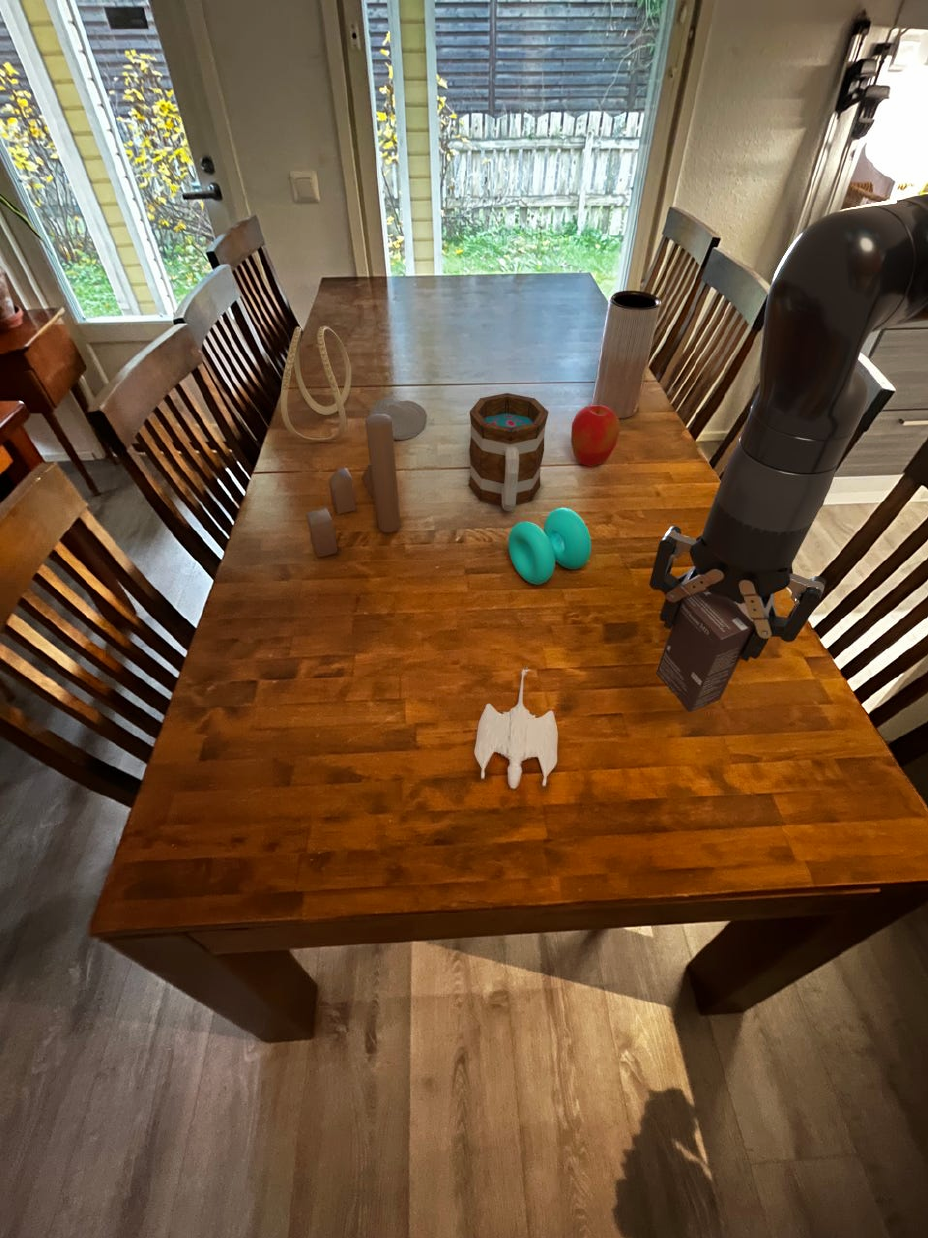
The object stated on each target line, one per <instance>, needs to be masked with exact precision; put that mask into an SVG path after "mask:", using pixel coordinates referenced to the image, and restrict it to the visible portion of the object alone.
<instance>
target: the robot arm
mask: <svg viewBox="0 0 928 1238" xmlns="http://www.w3.org/2000/svg"><path fill="white" fill-rule="evenodd" d="M763 318H764V319H763V329H762V339H761V348H760V349H761V350H760V357H759V358H760V359H759V381H758V382H759V383H758V388H757V391H756V393H755V396H754V398H753V401H752V404H751V407H750V409H749V412H748V415H747V418H746V419H745V423H744V426H743V429H742V431H741V435H740V436H739V439H738V441H737V443H736V446H735V447H734V449H733V452H732V453H731V455H730V457H729V459H728V461H727V463H726V465H725V468H724V471H723V474H722V477H721V479H720V483H719V486H718V488H717V491H716V494H715V497H714V499H713V501H712V505H711V508H710V510H709V513H708V516H707V519H706V522H705V525H704V527H703V529H702V533H701V534H700V535H699V536H697V538H694V537H691V536H687V535H684V534H682V529H681V528H680V527H679V526H678V525H671V526H670V527H668V529H667V530H666V533H664V535H663V536H662V538H661V539H660V542H659V543H658V548H657V552H656V554H655V555H656V556H655V559H654V563H653V567H652V572H651V574H650V580H649V587H650V588H651V589H652V590H653V591H660V592H662V593H663V595H664V597H665V598H664V602H663V604H662V607H661V610H660V614H659V620H660V621H662V622H663V625H662V627H663V628H665V629H668V630H671V628H672V625H673V622H674V620H675V617H676V614H677V611H678V608H679V606H680V603H681V600H682V598H684V597H686V596H687V595H690V596H691V595H693V594H695V593H697V592H699V591H701V590H704V589H708V591H707V592H710V593H713V594H715V595H720V596H725V597H727V598H729V599H730V600H732V601H734V602H736V603H739V604H742V603H743V602H745V603H746V606H747V610H748V613H749V616H750V619H753V621H754V624H755V627H756V628H755V630H754V632H753V634H752V636H751V638H750V640H749V642H748V644H747V646H746V648H745V650H744V652H743V654H742V656H741V658H740V660H742V661H744V662H747V663H748V662H749V660H750V658H751V659H754V660H757V659H758V658H759V657H760V655H761V654H762V652H763V650H764V648H765V646H767V643H768V641H769V639H771V638H774V637H777V638H780V639H781V640H782V641H783V642H785V643H792V642H795V640H796V639H797V637H798V635H799V634H800V632H801V631H802V629H803V628H804V627H805V625H806V624H807V621H808V620H809V618H811V616H812V614H813V612H814V611H815V610H816V608H817V606H818V604H819V603H820V601H821V599H822V596H823V594H824V590H825V587H826V584H827V581H826V579H825V578H824V577H823V576H820V575H815V576H812V577H811V578H810V579H809V578H806V577H804V576H802V575H798V574H796V573H794V568H793V563H794V561H795V559H796V557H797V556H798V554H799V551H800V549H801V547H802V545H803V544H804V541H805V539H806V537H807V535H808V533H809V531H810V529H811V527H812V525H813V523H814V521H815V520H816V517H817V516H818V514H819V512H820V510H821V508H822V507H823V506H824V504H825V500H826V498H827V495H828V494H829V491H830V490H831V487H832V483H833V482H834V481H833V480H834V478H835V474H836V471H837V469H838V466H839V464H840V462H841V460H842V459H843V456H844V455H845V452H846V450H847V448H848V446H849V444H850V442H851V440H852V438H853V436H854V434H855V432H856V430H857V428H858V427H859V424H860V422H861V420H862V417H863V415H864V413H865V409H866V407H867V404H868V401H869V394H870V393H869V391H870V390H869V385H868V382H867V380H866V379H865V377H864V376H863V375H862V374H861V373H860V372H859V371H858V370H856V367H857V363H858V360H859V357H860V354H861V352H862V349H863V347H864V345H865V343H866V341H867V340H868V338H869V337H870V335H871V334H872V333H874V332H878V331H880V330H885V329H887V328H890V327H893V326H898V325H904V324H911V323H917V322H925V321H928V192H926V193H920V194H915V195H910V196H905V197H899V198H895V199H890V200H884V201H881V202H876V203H871V204H870V203H869V204H865V205H861V206H856V207H850V208H844V209H840V210H837V211H834V212H830V213H828V214H826V215H824V216H822V217H820V218H818V219H817V220H814V221H813V222H812V223H811V224H809V225H808V226H807V227H806V228H805V229H804V230H803V231H802V232H800V234H799V235H798V236H796V238H795V239H794V241H793V242H792V243H791V244H790V246H789V247H788V249H787V251H786V252H785V254H784V256H783V257H782V259H781V261H780V263H779V264H778V266H777V269H776V271H775V273H774V275H773V278H772V281H771V283H770V286H769V290H768V295H767V298H766V304H765V310H764V317H763ZM684 553H689V557H690V559H691V562H692V563H693V566H691V568H690V569H689V570H687V571H686V572H684V573H682V574H681V575H679V576H678V577H676V576H674V575H673V574H672V573H671V572H672V568H673V565H674V561H675V559H679V558H681V557H682V555H683V554H684ZM786 588H787V589H789V590H790V593H791V595H790V599H791V600H792V602H793V604H794V605H793V607H792V608H791V611H790V612H789V614H788V615H787V616H786V617H785V616H779V615H778V611H777V609H776V608H777V607H776V605H775V594H776V593H778V592H781V591H783V590H785V589H786Z"/></svg>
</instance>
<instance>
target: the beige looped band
mask: <svg viewBox="0 0 928 1238" xmlns="http://www.w3.org/2000/svg"><path fill="white" fill-rule="evenodd" d="M325 332H327V333H328V334H329V335H330V337H331V338H332V339H333V341H334V343H335V344H336V346H337V348H338V349H339V351H340V354H341V357H342V360H343V363H344V369H345V379H344V380H345V381H344V386H343V390H342V392H341V393H340V389H339V386H338V383H337V380H336V377H335V375H334V372H333V369H332V365H331V362H330V359H329V356H328V353H327V348H326V344H325ZM316 337H317V345H318V350H319V355H320V358H321V359H320V360H321V362H322V365H323V368H324V369H323V370H324V371H325V374H326V377H327V381H328V383H329V386H330V389H331V391H332V395H333V397H334V401H335V402H334V403H333V404H331V405H328V406H323V405H321V404H319V403H318V402H317V401H315V400H314V399H313V397H312V396H311V394H310V392H309V391H308V390H307V388H306V385H305V383H304V380H303V377H302V372H301V366H300V351H301V350H300V349H301V339H302V327H301V326H295V328H294V330H293V334H292V337H291V341H290V345H289V348H288V352H287V357H286V361H285V367H284V370H283V376H282V381H281V388H280V389H281V390H280V412H281V418H282V421H283V424H284V426H285V428H286V430H287V431H288V432H289V433H290V434H291V435H292V436H293V437H295V438H297V439H299V440H302V441H305V442H306V441H307V442H314V443H315V442H317V443H319V442H321V443H322V442H332V441H337V440H339V439H341V438H342V437H343V436H344V434H345V432H346V428H347V416H346V411H345V405H344V404H345V403H346V401H347V398H348V397H349V394H350V390H351V385H352V367H351V361H350V358H349V355H348V352H347V350H346V347H345V345H344V343H343V342H342V340H341V338H340V337H339V335H338V334H337V333H336V332H335V331H334V330H333V329H332V328H331V327H330V326H327V325H322V326H320V327H319V328H318V329H317V335H316ZM293 368H294V374H295V378H296V382H297V385H298V388H299V390H300V393H301V396H302V397H303V399H304V401H305V402H306V403H307V405H308V406H309V407H310V408H311V409H312V410H313V411H314V412H316V413H317V414H320V415H323V416H329V415H333V414H335V413H337V412H338V417H339V426H338V430H337V432H336V433H335V434H334V435H332V436H330V437H325V438H314V437H313V438H312V437H308V436H305V435H302V434H301V433H299V432H298V431H297V430H296V429H295V428H294V427H293V424H292V423H291V421H290V418H289V412H288V395H289V388H290V387H289V386H290V380H291V376H292V375H291V374H292V371H293V370H292V369H293Z"/></svg>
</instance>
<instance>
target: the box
mask: <svg viewBox="0 0 928 1238" xmlns="http://www.w3.org/2000/svg"><path fill="white" fill-rule="evenodd" d="M707 591H708V589H707V588H704V589H702V590H700V591H699V592H697V593H695V594H693V595H691V596H690V595H687V596H686V597H684V598H682V600H681V603H680V606H679V608H678V611H677V614H676V617H675V620H674V622H673V625H672V627H671V629H670V630H669V634H668V637H667V640H666V643H665V645H664V648H663V651H662V654H661V657H660V659H659V663H658V665H657V669H656V672H655V674H656V675H657V676H658V677H659V678H660V680H661V681H662V682H663V683H664V684H665V686H667V688H668V689H669V690H670V691H671V693H672V694H673V696H675V697H676V698H677V700H678V701H679V702H680V704H682V706H683V707H684V709H685V710H686V711H687V712H688V713H691V712H694V711H697V710H699V709H701V708H705V707H707V706H709V705H712V704H714V703H715V702H718V701H720V700H721V698H722V697H723V694H724V693H725V690H726V689H727V686H728V684H729V681H730V679H731V678H732V675H733V674H734V672H735V670H736V668H737V666H738V663H739V662H740V660H741V659H740V658H741V656H742V654H743V652H744V650H745V648H746V646H747V644H748V642H749V640H750V638H751V636H752V634H753V632H754V630H755V628H756V627H755V624H754V623H753V622H752V621H751V620H750V619H749V618H748V617H747V616H746V615H745V614H744V613H743V612H742V611H741V609H740V608H739V606H738V605H737V604H736V603H735V602H733V601H732V600H730V599H729V598H727V597H725V596H720V595H715V594H713V593H710V592H707Z"/></svg>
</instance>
